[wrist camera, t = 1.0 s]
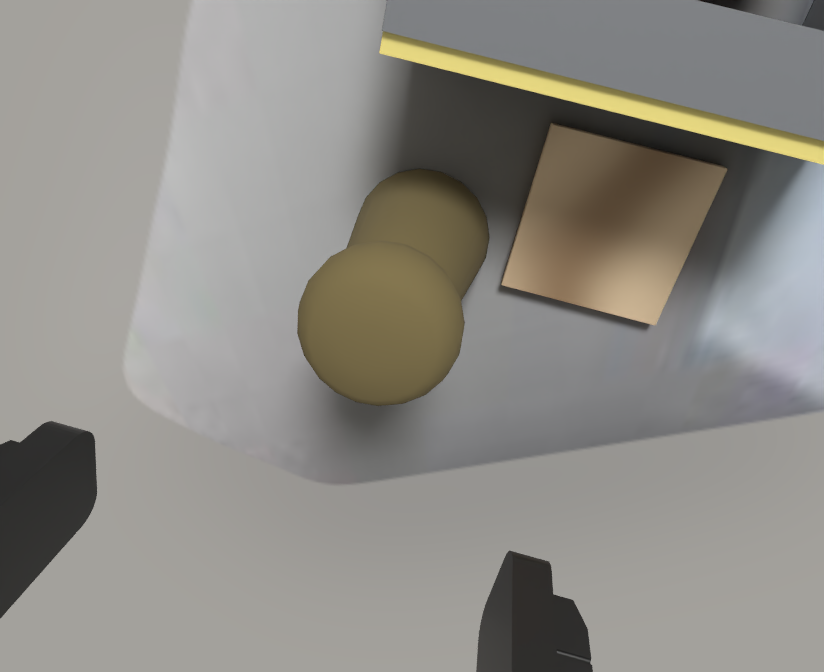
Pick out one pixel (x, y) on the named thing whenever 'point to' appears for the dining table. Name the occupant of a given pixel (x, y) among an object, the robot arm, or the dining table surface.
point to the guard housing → (636, 61)
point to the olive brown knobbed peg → (396, 290)
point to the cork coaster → (609, 223)
